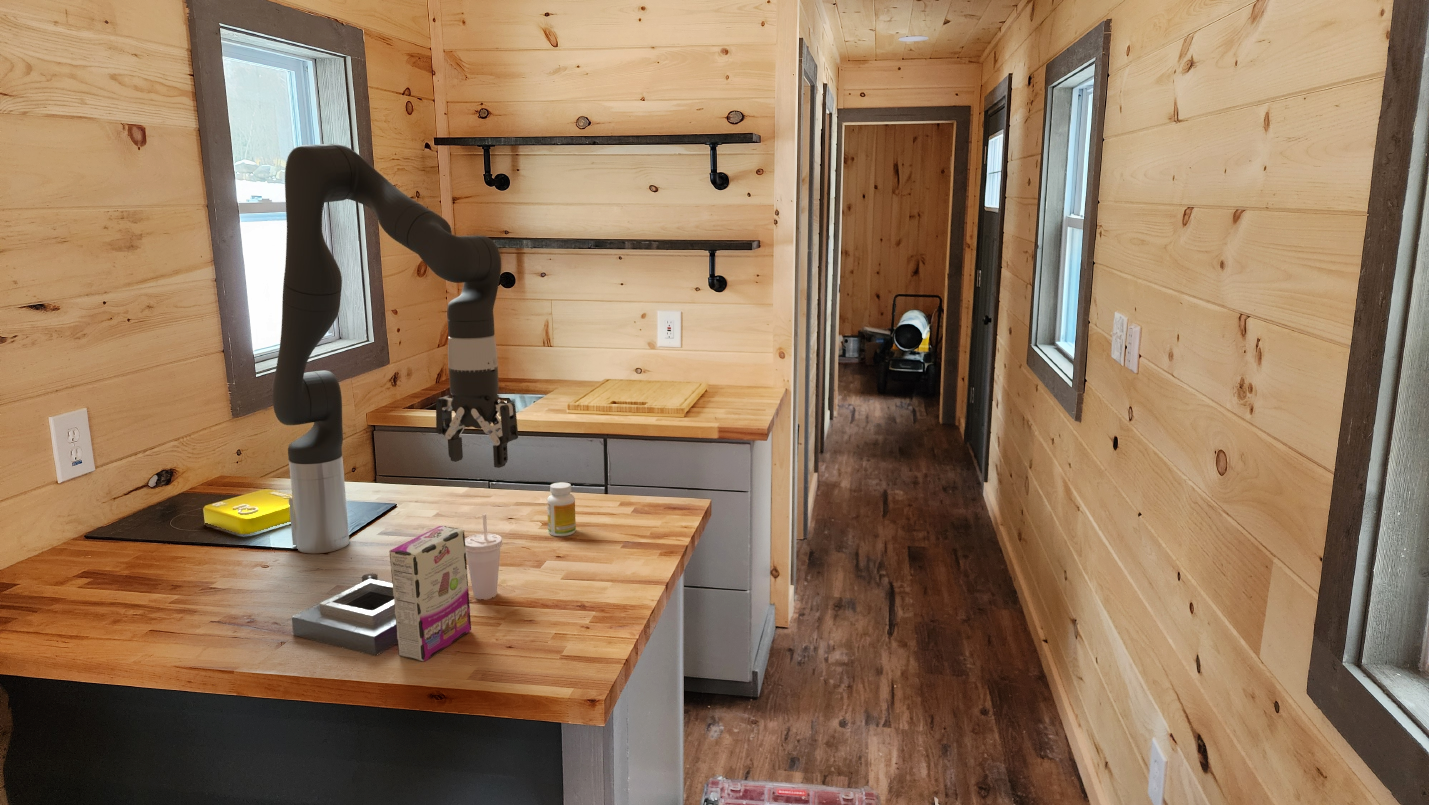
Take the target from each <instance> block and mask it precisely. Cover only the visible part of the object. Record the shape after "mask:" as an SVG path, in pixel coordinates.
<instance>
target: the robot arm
mask: <svg viewBox="0 0 1429 805" xmlns="http://www.w3.org/2000/svg"><path fill="white" fill-rule="evenodd" d="M284 195H285V211H286V212H285V213H286V216H285V217H286V242H285V245H286V246H285V264H284V274H283V275H284V276H283V284H282V285H283V287H282V303H281V304H282V305H281V308H282V311H281V331H280V340H279V350H278V355H277V362H276V367H275V373H274V380H273V385H272V407H273V411H274V414H275V417H276V418H277V420H278V421H279V423H281V424H283V425H285V426H299V425H305V424H311V423H313V425H312V427H311V428H310V429H309V430H308V431H307V432H306V433H305V434H303V435H302V436H301V437H299V438H297V439H295V440H293V441H292V442H291V443H289V445H288V447H287V455H288V456H287V457H288V459H287V460H288V468H289V477H290V487H291V495H292V497H291V498H289V509H290V520H291V525H290V527H291V538H292V546H293V545H296V546H297V547H296V549H298V550H297V551H298V552H301V553H305V554H324V553H330V552H335V551H338V550H340V549H343V548H345V547H347V546H348V545H349V544H350V535H349V532H350V531H349V522H348V521H349V520H348V507H347V506H348V505H347V495H346V482H345V472H344V462H343V458H344V457H343V443H344V442H343V441H344V431H343V429H344V428H343V399H342V398H343V397H342V391H341V390H342V389H341V386H340V382H339V380H338V378H337V377H336V375H335V374H334V373H333V372H331V371H330V370H316V371H308V372H307V371H306V367H307V364H308V362H309V359H310V356H311V355H312V353H313V351H315V349H316V347H317V346H318V344H319V343H320V342H321V341H322V339H323V338H324V337H325V335H326V334H327V333H328V332H329V330H330V329H331V327H332V326H333V325H334V323H335V321H336V319H337V318H338V315H339V312H340V307H341V297H342V287H343V286H342V285H343V279H342V278H343V277H342V272H341V269H340V267H339V265H338V262H337V260H336V259H335V258H334V255H333V253H332V252H331V250H330V248H329V246H328V244H327V242H326V240H325V238H324V237H325V236H324V234H323V212H324V205H325V203H332V202H340V201H341V202H342V201H345V200H351V201H353V202H356V203H359V204H361V205H363V206H365V207H367V208H368V209H370V210H371V211H373V213H374V215H375V216H376V219H377V222H378V224H379V226H380V227H381V228H382V230H383V231H384V232H385V233H386V234H387V235H388V236H389V237H390V238H391V239H392V240H394V242H397V243H399V244H401V245H402V246H403V247H405V248H407V249H408V250H410V251H411V252H413V253H415V254H417V255H418V256H419V258H420V259H421V260H422V261H423V262H424V263H425V265H426V266H427V267H428V268H429V269H430V270H431V272H433V273H434V274H435V275H437V277H439V278H441V279H443V280H445V281H447V282H450V283H455V284H462V283H463V284H462V290H461V293H460V295H459V296H457V297H455V298H453V299H452V300H450V301H449V302H448V305H447V311H446V314H447V332H448V344H447V363H448V364H447V365H448V380H449V381H448V382H449V393H450V394H451V396H452V397H451V396H450V395H445V396H443V397H438V398H437V399H436V400H435V422H436V423H435V425H436V426H435V428H436V429H435V430H436V434H437V435H443V436H444V437H445V438H446V439H447V449H448V450H447V451H448V456H449V458H450V461H451V462H455V463H456V462H459V461H461V460H462V459H463V458H464V455H463V454H464V453H463V439H462V436H461V435H462V434H463V432H464V430H465V429H466V428H474V429H476V430H477V429H478V430H481V429H482V430H483V432H484V433H485V435H488V436H489V438H490V440H492V442H493V444H494V445H492V452H493V453H492V454H493V455H492V456H493V466H494V468H496V469H500V468H503V467H505V465H506V463H508V461H509V457H508V455H509V454H508V443H509V442H512V441H515V440H518V439H519V431H518V418H517V409H516V408H517V407H516V403H514V402H508V403H500V402H499V400H498V393H499V390H500V385H499V384H500V382H499V366H498V365H499V364H498V351H497V350H498V347H497V343H496V335H495V316H494V306H495V304H496V298H497V296H498V289H499V283H500V279H501V273H502V258H501V254H500V251H499V248H498V246H497V245H496V243H495V242H494V241H493V240H492V238H490V237H488V236H487V235H486V236H485V235H480V234H479V235H478V234H477V235H476V234H474V235H454V234H453V233H452V231H453V230H452V227H451V226H450V224H449V222H448V221H447V220H446V219H445V218H444V217H442V216H441V215H439V213H436V212H434V211H433V210H431V209H429V208H428V207H427V206H425V205H423V204H421V203H420V202H418V201H416V200H414V199H413V198H411V197H410V196H408V195H407V194H405V193H404V192H403V191H401V190H400V189H399V188H397V187H396V186H395V185H394V184H392V182H391V181H389V180H388V179H387V178H386V177H384V176H383V175H382V174H381V173H380V172H379V171H378V170H376V168H374V167H373V166H372V165H371V164H370V163H369V162H368V161H366V160H365V159H364V158H363V157H362V156H361V155H360V154H359V153H357V152H356V151H355V150H353V149H352V148H350V147H349V146H346V145H343V144H338V143H324V144H303V145H298V146H296V147H294V148H292V150H291V151H290V152H289V154H288V155H287V158H286V162H285V170H284ZM452 412H454V413H455V415H454V416H453V413H452ZM491 424H493V425H491Z"/></svg>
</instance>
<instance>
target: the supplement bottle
mask: <svg viewBox="0 0 1429 805" xmlns="http://www.w3.org/2000/svg"><path fill="white" fill-rule="evenodd" d="M549 486H550V487H549V488H550V495H549V496H548V497H547V498H546V501H547V503H546V505H547V506H546V507H547V508H546V509H547V529H548V530H547V531H548V534H549V535H551V536H554V537H567V536H572V535H573V534H575V532H576V529H577V526H576V525H577V523H576V522H577V521H576V498H575V496H574V494H573V493H572V485H571V483H568V482H560V481H559V482H554V483H551V484H550V485H549Z"/></svg>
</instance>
